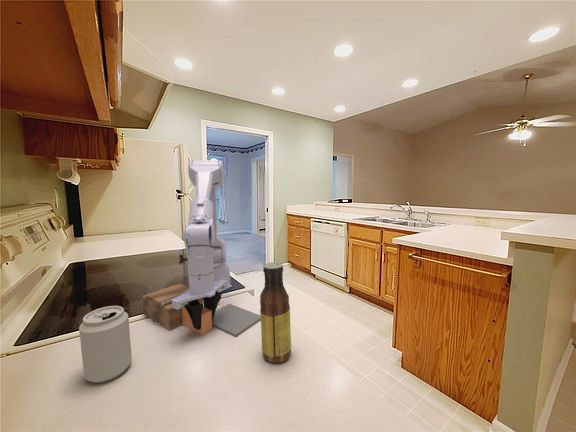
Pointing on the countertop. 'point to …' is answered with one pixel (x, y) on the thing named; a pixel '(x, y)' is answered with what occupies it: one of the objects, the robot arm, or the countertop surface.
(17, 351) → the countertop surface
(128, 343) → the can
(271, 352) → the sauce bottle
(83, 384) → the countertop surface
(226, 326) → the mat
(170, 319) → the brown wooden stand
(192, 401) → the countertop surface
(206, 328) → the orange clay brick
